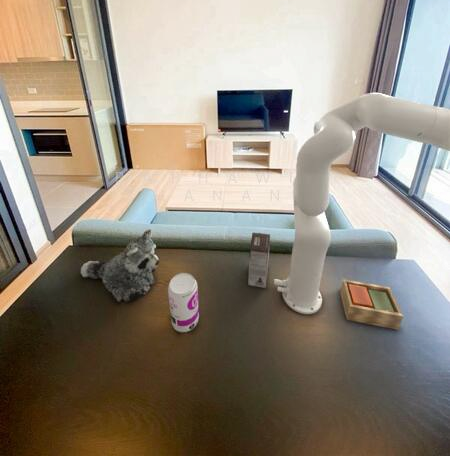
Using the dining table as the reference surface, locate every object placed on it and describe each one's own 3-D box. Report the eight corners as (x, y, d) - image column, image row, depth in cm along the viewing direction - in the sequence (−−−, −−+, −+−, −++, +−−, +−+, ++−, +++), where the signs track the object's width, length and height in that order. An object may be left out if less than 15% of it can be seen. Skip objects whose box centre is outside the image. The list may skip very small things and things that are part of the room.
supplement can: (203, 313, 76) (202, 277, 70) (189, 338, 69) (186, 300, 63) (181, 303, 79) (178, 267, 74) (165, 326, 72) (161, 289, 67)
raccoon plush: (158, 305, 78) (152, 253, 71) (62, 302, 79) (45, 251, 71) (169, 267, 93) (165, 221, 85) (87, 266, 93) (76, 219, 86)
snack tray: (346, 319, 74) (350, 306, 72) (339, 291, 83) (342, 279, 81) (398, 329, 71) (403, 316, 69) (385, 299, 81) (389, 287, 79)
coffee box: (250, 265, 94) (252, 231, 88) (267, 268, 93) (270, 233, 87) (247, 285, 85) (249, 249, 80) (266, 288, 84) (269, 251, 78)
